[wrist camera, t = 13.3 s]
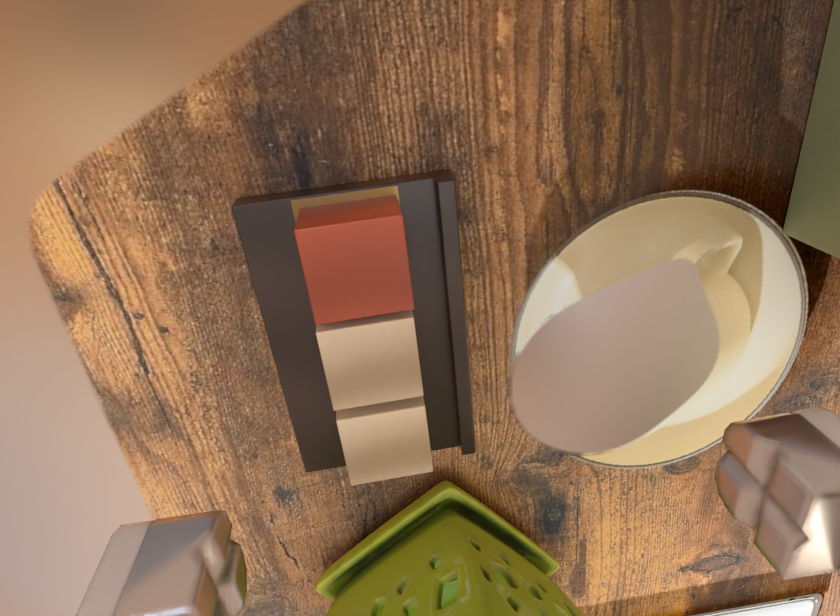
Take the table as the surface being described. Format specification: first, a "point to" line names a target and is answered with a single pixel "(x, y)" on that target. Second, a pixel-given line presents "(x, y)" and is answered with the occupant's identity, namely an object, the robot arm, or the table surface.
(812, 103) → the stand
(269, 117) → the table surface
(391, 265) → the tile
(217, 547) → the robot arm
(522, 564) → the flower pot
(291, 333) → the tray
